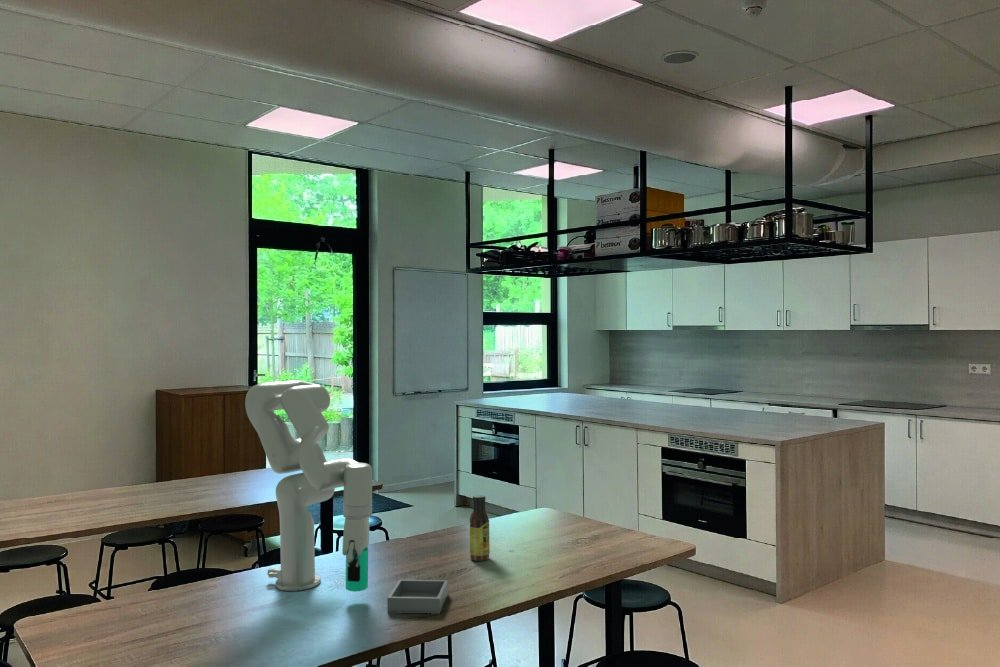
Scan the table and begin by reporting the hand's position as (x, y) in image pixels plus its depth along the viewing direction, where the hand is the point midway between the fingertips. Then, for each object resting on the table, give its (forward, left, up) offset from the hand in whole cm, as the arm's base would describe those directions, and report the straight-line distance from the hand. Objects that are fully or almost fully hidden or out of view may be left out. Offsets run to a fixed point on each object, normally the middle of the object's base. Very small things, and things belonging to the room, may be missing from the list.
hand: (356, 576), depth 197 cm
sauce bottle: (+29, +38, -7) cm, 48 cm away
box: (+17, -1, -7) cm, 18 cm away
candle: (0, 0, -3) cm, 3 cm away
